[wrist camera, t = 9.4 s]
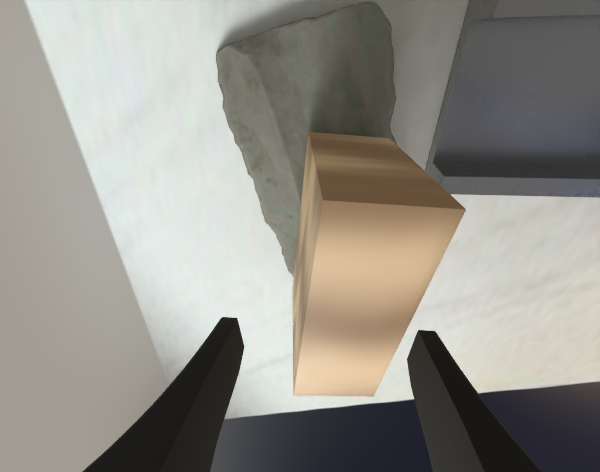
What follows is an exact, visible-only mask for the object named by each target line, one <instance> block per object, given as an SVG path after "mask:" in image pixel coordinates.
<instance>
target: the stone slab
mask: <svg viewBox="0 0 600 472" xmlns="http://www.w3.org/2000/svg"><path fill="white" fill-rule="evenodd" d="M216 63H217V67H218V83H219V86H220V88H221V91H222V94H223V110H224V112H225V114H226V118H227V122H228V125H229V128H230V130H231V131H232V132H233V134H234V139H235V143H236V144H237V145H238V147H239V148H240V150H241V152H242V155H243V158H244V161H245V165H246V167H247V171H248V174H249V175H250V176H251V177H252V179H253V181H254V185H255V190H256V192H257V194H258V197H259V200H260V204H261V209H262V213H263V216H264V219H265V222H266V223H267V224H268V225H269V226H270V227H271V229H272V230H273V231H274V232H275V234H276V236H277V239H278V241H279V243H280V245H281V247H282V254H283V256H284V259H285V262H286V265H287V268H288V271H289V272H290V273H291V274H292V275H293V277H294V270H295V260H296V249H297V239H298V229H299V219H300V209H301V199H302V189H303V179H304V169H305V159H306V149H307V139H308V132H318V133H330V134H342V135H354V136H366V137H378V138H389V139H390V140H391V141H393V142H394V143H395V144H396V141H395V139H394V137H393V136H392V134H391V130H390V121H391V117H392V114H393V109H394V105H395V99H396V97H395V88H394V84H393V68H394V63H393V48H392V44H391V24H390V22H389V21H388V19H387V18H386V17H385V15H384V14H383V12H382V10H381V9H380V8H379V6H378V5H377V4H376V3H373V2H366V3H361V4H358V5H352V6H348V7H344V8H342V9H339V10H336V11H334V12H331V13H328V14H325V15H323V16H320V17H317V18H305V19H302V20H299V21H296V22H293V23H290V24H288V25H285V26H281V27H278V28H275V29H272V30H269V31H267V32H265V33H262V34H259V35H256V36H252V37H248V38H246V39H244V40H242V41H238V42H235V43H231V44H229V45H227V46H225V47H224V48H223V49H222V50H220V51H218V52H217V53H216Z"/></svg>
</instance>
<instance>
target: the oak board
mask: <svg viewBox="0 0 600 472" xmlns="http://www.w3.org/2000/svg"><path fill="white" fill-rule="evenodd" d="M465 210H466V209H465V208H464V207H463V206H462V205H461V204H459V203H458V202H457V201H456V200H455V199H454V198H453V197H452V196H451V195H450V194H449V193H448V192H447V191H445V190H444V189H443V188H442V187H441V186H440V185H439V184H438V183H437V182H436V181H435V180H434V179H432V178H431V177H430V176H429V175H428V174H427V173H426V172H425V171H424V170H423V169H422V168H421V167H420V166H418V165H417V164H416V163H415V162H414V161H413V160H412V159H411V158H410V157H409V156H408V155H407V154H405V153H404V152H403V151H402V150H401V149H400V148H399V147H398V146H397V145H396V144H395V143H394V142H393V141H391V140H390V139H389V138H378V137H366V136H354V135H342V134H330V133H318V132H308V139H307V149H306V159H305V169H304V179H303V189H302V199H301V209H300V219H299V229H298V239H297V249H296V260H295V270H294V280H293V384H294V396H374V394H375V392H376V390H377V388H378V386H379V384H380V382H381V380H382V378H383V376H384V374H385V372H386V370H387V368H388V366H389V364H390V362H391V360H392V358H393V356H394V354H395V352H396V350H397V348H398V346H399V344H400V342H401V340H402V338H403V336H404V334H405V332H406V330H407V328H408V326H409V324H410V322H411V320H412V318H413V316H414V314H415V312H416V310H417V308H418V305H419V303H420V301H421V299H422V297H423V295H424V293H425V291H426V289H427V287H428V285H429V283H430V281H431V279H432V277H433V275H434V273H435V271H436V269H437V267H438V265H439V263H440V261H441V259H442V257H443V255H444V253H445V251H446V249H447V247H448V245H449V243H450V241H451V239H452V237H453V235H454V233H455V231H456V229H457V227H458V225H459V223H460V221H461V219H462V217H463V215H464V212H465Z"/></svg>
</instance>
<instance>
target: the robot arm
mask: <svg viewBox="0 0 600 472" xmlns="http://www.w3.org/2000/svg"><path fill="white" fill-rule="evenodd" d="M243 350H244V344H243V340H242V336H241V332H240V328H239V324H238V320H237V318H228V317H222V318H221V319H220V320H219V322H218V323H217V325H216V326H215V328H214V329H213V331H212V332H211V333H210V335H209V336H208V338H207V339H206V340H205V342H204V343H203V344H202V346H201V347H200V348H199V350H198V351H197V352H196V354H195V355H194V356H193V357H192V359H191V360H190V361H189V363H188V364H187V365H186V366H185V368H184V369H183V370H182V371H181V373H180V374H179V375H178V376H177V377H176V378H175V380H174V381H173V382H172V383H171V384H170V385H169V387H168V388H167V389H166V390H165V391H164V392H163V394H162V395H161V396H160V397H159V398H158V399H157V400H156V401H155V402H154V404H153V405H152V406H151V407H150V408H149V409H148V410H147V411H146V412H145V413H144V414H143V415H142V416H141V417H140V418H139V419H138V420H137V421H136V422H135V423H134V424H133V425H132V426H131V427H130V428H129V429H128V430H127V431H126V432H125V433H124V434H123V435H122V436H121V437H120V438H119V439H118V440H117V441H116V442H115V443H114V444H113V445H112V446H111V447H109V449H107V450H106V451H105V452H104V453H103V454H102V455H101V456H100V457H98V458H97V459H96V460H95V461H94V462H93V463H92V464H91V465H89V466H88V467H87V468H86V469H85V470H84V471H83V472H210V469H211V465H212V461H213V456H214V452H215V448H216V444H217V440H218V436H219V433H220V430H221V426H222V424H223V421H224V418H225V414H226V411H227V408H228V405H229V402H230V399H231V396H232V393H233V390H234V386H235V383H236V380H237V377H238V374H239V370H240V365H241V360H242V355H243ZM407 362H408V369H409V376H410V382H411V387H412V391H413V395H414V399H415V403H416V407H417V411H418V414H419V418H420V422H421V426H422V429H423V433H424V437H425V441H426V444H427V448H428V452H429V455H430V460H431V465H432V469H433V472H542V471H541V469H540V468H539V467H538V466H537V465H536V464H535V463H534V462H533V461H532V460H531V458H530V457H529V456H528V455H527V454H526V453H525V451H524V450H523V449H522V448H521V447H520V446H519V445H518V443H517V442H516V441H515V440H514V438H513V437H512V436H511V435H510V434H509V432H508V431H507V430H506V429H505V428H504V426H503V425H502V424H501V423H500V422H499V420H498V419H497V418H496V416H495V415H494V414H493V412H492V411H491V410H490V409H489V407H488V406H487V405H486V404H485V402H484V401H483V399H482V398H481V397H480V395H479V394H478V393H477V391H476V390H475V389H474V387H473V386H472V385H471V383H470V382H469V380H468V379H467V378H466V376H465V375H464V373H463V372H462V371H461V369H460V368H459V366H458V365H457V363H456V362H455V360H454V359H453V357H452V356H451V354H450V353H449V351H448V350H447V348H446V347H445V345H444V344H443V342H442V341H441V339H440V338H439V336H438V335H437V333H436V332H435V331H424V330H418V332H417V335H416V337H415V340H414V342H413V345H412V348H411V350H410V353H409V356H408V358H407Z"/></svg>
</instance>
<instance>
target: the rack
mask: <svg viewBox="0 0 600 472" xmlns="http://www.w3.org/2000/svg"><path fill="white" fill-rule="evenodd" d="M425 172H426V173H427V174H428V175H429V176H430V177H431V178H432V179H434V180H435V181H436V182H437V183H438V184H439V185H440V186H441V187H442V188H443V189H444V190H445V191H447V192H448V193H449V194H472V195H517V196H561V197H600V0H470V1H469V5H468V9H467V13H466V16H465V20H464V24H463V28H462V32H461V36H460V39H459V43H458V47H457V51H456V55H455V59H454V62H453V66H452V70H451V74H450V78H449V82H448V85H447V89H446V93H445V97H444V101H443V105H442V108H441V112H440V116H439V120H438V124H437V128H436V131H435V135H434V139H433V143H432V147H431V151H430V154H429V158H428V162H427V166H426V170H425Z"/></svg>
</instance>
